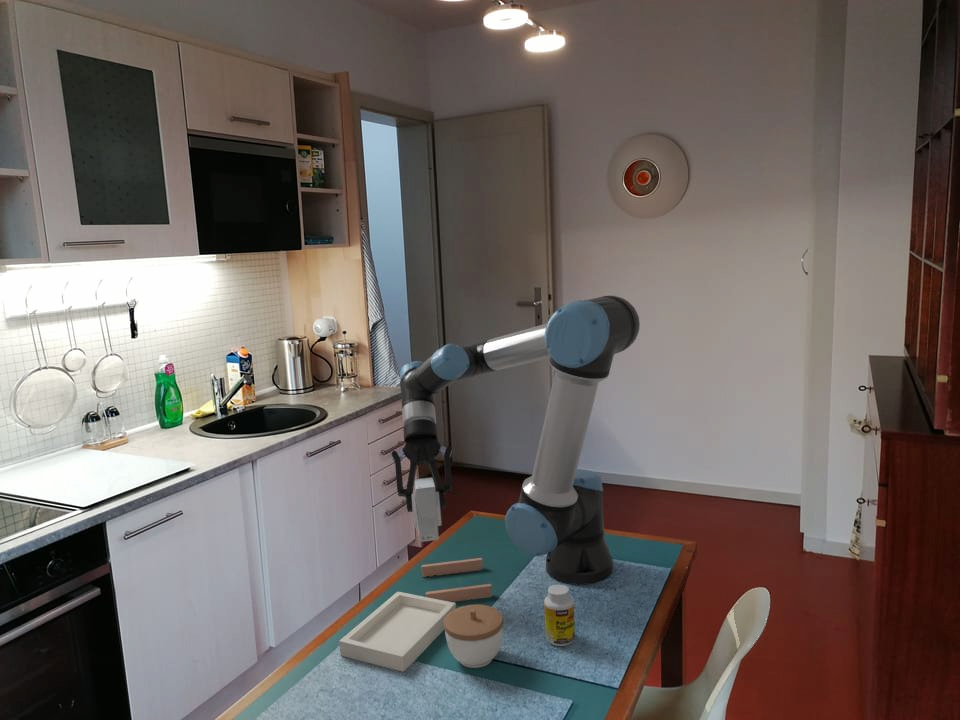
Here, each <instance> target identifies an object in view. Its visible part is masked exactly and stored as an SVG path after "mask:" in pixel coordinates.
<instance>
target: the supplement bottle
mask: <svg viewBox="0 0 960 720" xmlns="http://www.w3.org/2000/svg"><path fill="white" fill-rule="evenodd" d="M543 601H544V603H543V605H544V607H543V608H544V624H545V625H544V627H545V639H546V641H547V642H548V643H549V644H550V645H553V646H555V647H565V646H569V645H571V644H572V643H573V642H574V641H575V639H576V625H575V624H576V623H575V622H576V621H575V600H574V598H573V597H572V596H571V593H570V588H569V586H567V585H564V584H553V585H550V586H549V587H548V588H547V596H546V597H545V598H544V600H543Z"/></svg>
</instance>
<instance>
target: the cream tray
mask: <svg viewBox="0 0 960 720" xmlns="http://www.w3.org/2000/svg"><path fill="white" fill-rule="evenodd" d="M454 609H457V603H456V602H448V601H443V600H438V599H433V598H428V597H426V596H422V595H417V594H412V593H407V592H401V591H396V592H395V593H394V594H393V595H392V596H391V597H390V598H388V599H387V600H386V601H384V602H383V603H382V604H381V605H379V607H377V608H376V609H375V610H374V611H373V612H371V613H370V614H369V615H368V616H367V617H366V618H364V619H363V620H362V621H361V622H360V623H358V624H357V625H356V626H355V627H354V628H353V629H351V630H350V631H349V632H348V633H347V634H345V635H344V636H343V637H342V638H341V639H340V640H338V646H339V653H340V655H339V656H341V657H345V658H347V659H352V660H355V661H360V662H363V663H368V664H370V665H371V664H372V665H374V666H375V665H376V666H379V667H382V668H387V669H391V670H395V671H399V672H403V673H404V672H405V671H406V670H407V669H409V667H410V666H411V665H412V664H413V663H414V662H415V661H416V660H417V659H418V658H419V657H420V655H421V654H423V653H424V651H425V650H426V649H428V647H429V646H430V645H431V644H432V643H434V641H435V640H436V639H437V638H438V637H439V636H440V635H441V633H442V632H443V631H445V628H444V620H445V617H446V616H447V615H448V614H449V613H450V612H451V611H453V610H454Z"/></svg>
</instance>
